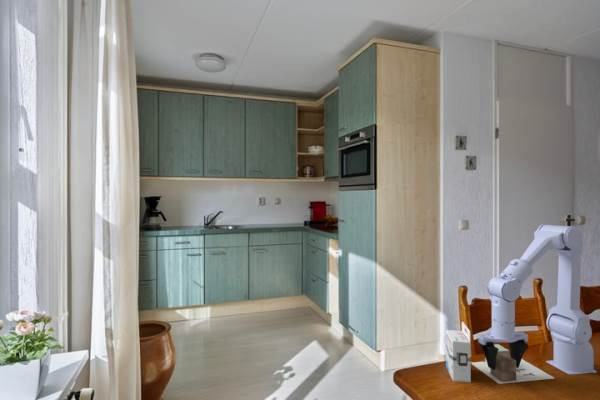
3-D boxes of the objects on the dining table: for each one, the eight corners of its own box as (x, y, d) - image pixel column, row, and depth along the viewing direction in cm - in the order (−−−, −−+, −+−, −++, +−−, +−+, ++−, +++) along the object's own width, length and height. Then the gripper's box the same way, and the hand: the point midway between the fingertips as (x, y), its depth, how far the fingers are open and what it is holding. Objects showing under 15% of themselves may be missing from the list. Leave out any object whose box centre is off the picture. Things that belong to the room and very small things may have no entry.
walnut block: (504, 371, 98) (503, 353, 98) (516, 379, 93) (516, 360, 93) (490, 373, 97) (490, 354, 97) (502, 381, 92) (502, 361, 92)
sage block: (498, 361, 104) (498, 344, 104) (509, 368, 99) (509, 350, 99) (485, 362, 103) (485, 345, 103) (496, 369, 99) (496, 351, 99)
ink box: (445, 367, 101) (445, 319, 101) (462, 368, 100) (462, 320, 100) (452, 382, 93) (452, 330, 93) (471, 384, 92) (471, 331, 92)
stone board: (520, 359, 106) (520, 358, 106) (555, 379, 94) (555, 378, 94) (470, 364, 103) (470, 362, 103) (498, 385, 91) (498, 383, 91)
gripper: (514, 314, 100) (514, 358, 100) (471, 316, 98) (471, 362, 98) (534, 322, 93) (534, 370, 93) (488, 325, 91) (488, 374, 91)
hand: (503, 367), depth 95 cm, fingers open, 7 cm apart
